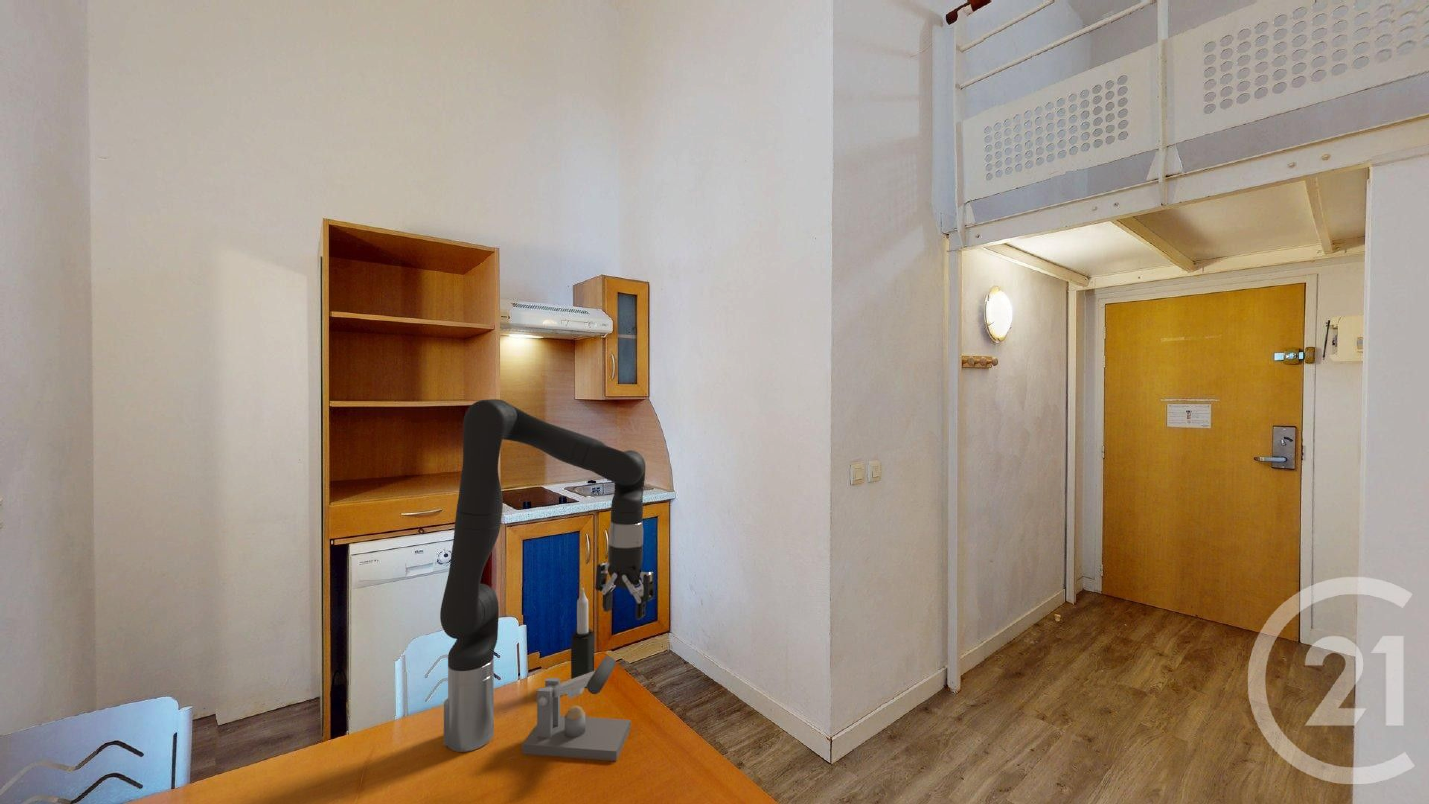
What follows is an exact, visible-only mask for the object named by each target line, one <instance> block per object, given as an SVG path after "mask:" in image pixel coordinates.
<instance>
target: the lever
mask: <svg viewBox="0 0 1429 804" xmlns="http://www.w3.org/2000/svg"><path fill="white" fill-rule="evenodd" d="M615 668H616V660H615V659H614V657H612V656H610V655H609V656H608V655H607V656H605V657H603V659H602V660H601V662H600V663H599V665H598V666H597V668H596V669H594V671H593V672H590V673H587V674H584V675H582V676H579V677H576V678H573V679H571V678H570V679H568V680H566V681H565V680H564V681H563V682H560V683H559V684H557V685H548V686H546V688H553V698H556V697H558V696H560V697H561V696H564V695H567V699H568V700H569V699H573V698H575V697H578V696H580V695H582V694H583V692H584V691H585V688H584V687H586V686H587V687H586V688H587V691H588V692H589V693H590V694H591V695H598V694H599V693H601V691H602V689H603V688H604V686H605V684H606V682H608V680H609V678H610V677H611V676H610V675H611V674H612V672H613V671H614V669H615Z"/></svg>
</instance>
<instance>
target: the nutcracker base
mask: <svg viewBox="0 0 1429 804" xmlns="http://www.w3.org/2000/svg"><path fill="white" fill-rule="evenodd" d="M559 683H561V678H558V677H557V678H556V677H547V678H546V679H545V681H544V687H539V688H538V689H537V690H536V725H535V726H534V728H533V729H532V731H530V733H529V734H528V736H527V738H526V739H525V740H524V741H523V742H522V744H521V747H522V748H521V750H522V751H521V753H522V754H523V755H534V756H548V757H557V758H559V757H560V758H562V757H563V758H574V759H584V760H585V759H588V760H602V761H611V762H612V761H614V762H617V760H618V759H619V757H620V754H621V752H622V749H623V748H624V745H625V742H626V740H627V738H628V736H629V733H630V731H631V729H632V728H631V727H632V726H631V723H632V722H631V721H632V720H631V719H623V718H622V719H619V718H605V717H604V718H603V717H593V716H592V717H589V716H586V712H585V711H584V710H583V708H582V707H581V706H579V705H573V706H571V707H570V708H569V709H568V711H567V712H566V713H565V715H561V696H558V697H556V698H553V688H546V686H548V685H557V684H559Z"/></svg>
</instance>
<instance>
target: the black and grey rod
mask: <svg viewBox="0 0 1429 804" xmlns="http://www.w3.org/2000/svg"><path fill="white" fill-rule="evenodd" d="M580 591H581V592H580V594H579V595H580V596H579V598H578V599H577V600H576V601H577V602H576V623H577V624H576V630H575V631H573V634H572V635H571V636H570V679H573V678H576V677H579V676H582V675H584V674H587V673H590V672H593V671H595V631H593V630H592V629H590V628H589V599H588V598H587V596H586V593H585V588H584V587H581V589H580ZM585 688H587V686H586V687H584V689H585Z"/></svg>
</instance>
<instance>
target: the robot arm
mask: <svg viewBox="0 0 1429 804" xmlns="http://www.w3.org/2000/svg"><path fill="white" fill-rule="evenodd" d="M464 414H465V415H464V417H463V424H462V432H463V433H462V439H463V440H462V443H463V444H462V467H461V468H462V469H461V473H460V474H461V475H460V482H459V489H458V490H459V491H458V498H457V502H456V503H457V504H456V511H455V518H454V519H455V520H454V530H453V531H454V533H453V541H452V548H451V555H450V563H449V569H448V575H447V579H446V583H445V588H444V592H443V597H442V600H441V605H440V612H439V618H440V619H439V620H440V625H441V628H442V630H443V631H444V632H445V634H446V635H447V636H448V637H449V638H451V639H453V640H455V639H456V640H455V641H454V643H453V645H452V646H451V648H450V649H449V651H448V655H447V698H446V699H445V700H444V701H443V746H445V747H448V748H449V749H450V750H452V751H454V752H457V753H458V752H460V753H462V752H463V753H464V752H471V751H474V750H477V749H479V748H482V747H484V746H485V745H487V744H488V743H489V742H490V741H492V739H493V737H494V732H495V731H494V729H495V728H494V727H495V721H494V719H495V718H494V717H495V716H494V715H495V711H494V710H495V709H494V707H495V706H494V704H495V703H494V701H495V700H494V699H495V698H494V697H495V696H494V695H495V694H494V691H495V690H494V689H495V687H494V685H495V684H494V683H495V682H494V679H495V678H494V677H495V673H494V672H495V671H494V669H495V666H494V665H495V664H494V663H495V662H494V661H495V660H494V659H495V657H494V653H495V648H496V646H497V643H498V637H499V636H498V635H499V616H500V615H499V613H500V611H499V610H500V609H499V606H500V605H499V601H498V596H497V593H496V592H495V591H494V589H493V588H492V587H491V586H489V585H488V584H485V583H481V580H482V575H483V572H484V569H485V566H486V564H487V562H488V559H489V557H490V555H491V554H492V551H493V549H494V547H495V544H496V543H497V540H498V538H499V535H500V531H501V525H502V518H503V517H502V515H503V510H504V509H503V504H504V500H503V499H504V498H503V492H502V485H501V482H500V477H499V459H500V453H501V447H502V443H503V440H506V441H512V442H517V443H522V444H525V445H528V446H530V447H533V448H536V449H538V450H540V451H541V452H542V453H543V452H544V453H545V454H547V455H549V456H550V457H551V458H554V459H556V460H557V461H560V462H563V463H565V464H568V465H571V466H573V467H575V468H576V467H577V468H580V469H583V470H586V471H589V472H592V473H594V474H596V475H598V476H600V477H601V478H604V479H606V480H608V481H610V482H612V483H614V488H613V489H614V493H613V495H612V499H611V504H610V523H609V525H610V526H609V530H608V549H607V550H608V551H607V552H608V554H607V557H608V558H607V561H603V562H600V563H598V564H597V566H596V573H595V574H596V575H595V585H594V586H595V588H594V589H595V590H596V591H599V592H601V595H602V604H601V605H602V609H603V612H606V613H608V612H610V611H611V610H612V609H613V596H614V594H613V590H614V589H615V588H619V589H620V588H622V589H623V590H628V591H629V593H630V595H632V596H633V597H634V599H635V601H636V602H635V614H634V615H635V616H634V617H635V620H637V621H640V620H642V619H643V618H644V617H645V615H646V608H647V605H646V604H647V603H648V602H650V601H651V600H653V599H655V573H654V572H653V571H652V570H651V571H648V572H646V571H643V569H642V563H643V557H644V556H643V555H644V553H643V551H644V525H643V524H644V523H643V522H644V521H643V519H644V517H643V515H644V500H643V497H644V490H645V488H644V487H645V479H646V461H645V459H644V457H643V456H642V454H641V453H639V452H638V451H635V450H632V449H631V450H629V449H628V450H624V451H622V450H619V449H617V448H614V447H612V446H608V445H606V444H605V442H603V441H600V440H598V439H597V438H593V437H591V436H588V435H585V434H582V433H579V432H576V431H573V430H569V429H566V428H563V427H560V426H559V425H558V426H557V425H555V424H551V423H549V422H546V421H545V420H542V419H540V418H538V417H535V416H533V415H531V414H529V413H527V412H525V411H524V410H521V409H519V408H518V407H517V406H514V405H512V404H510V403H509V402H507V401H505V400H502V399H497V398H493V399H492V398H490V399H482V400H481V399H479V400H477V401H475V402H474V403H472V404H471V405H470V406H469V407H468V408H467V410H466V411H465V413H464ZM608 574H609V576H610V577H609V579H608Z"/></svg>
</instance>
